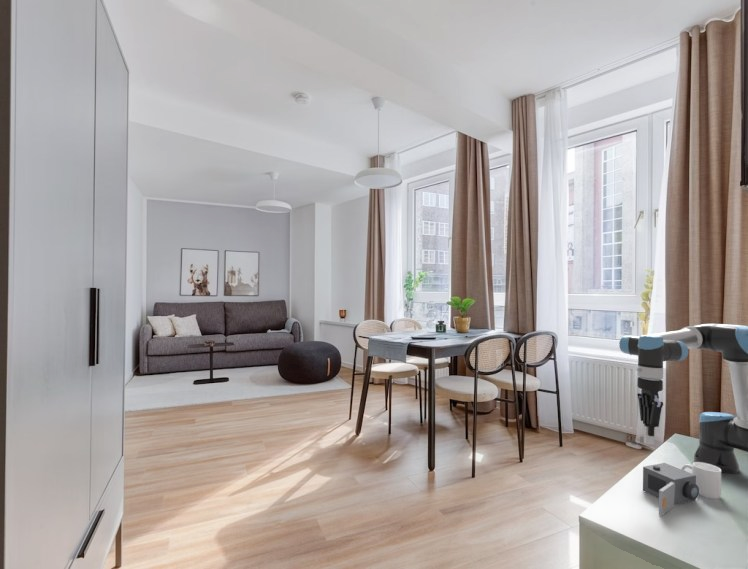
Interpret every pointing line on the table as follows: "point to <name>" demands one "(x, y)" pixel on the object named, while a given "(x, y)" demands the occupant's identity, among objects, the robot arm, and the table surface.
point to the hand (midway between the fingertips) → (649, 443)
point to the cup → (706, 479)
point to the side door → (666, 498)
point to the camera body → (664, 474)
